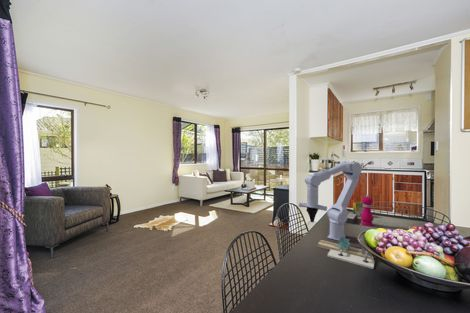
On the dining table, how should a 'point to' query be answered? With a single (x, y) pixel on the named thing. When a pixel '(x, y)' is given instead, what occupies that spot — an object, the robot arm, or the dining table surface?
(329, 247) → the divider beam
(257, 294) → the dining table surface
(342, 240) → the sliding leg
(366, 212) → the pepper mill
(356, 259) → the bolt plate
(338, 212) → the robot arm
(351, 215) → the calculator
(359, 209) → the crayon box
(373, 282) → the dining table surface
